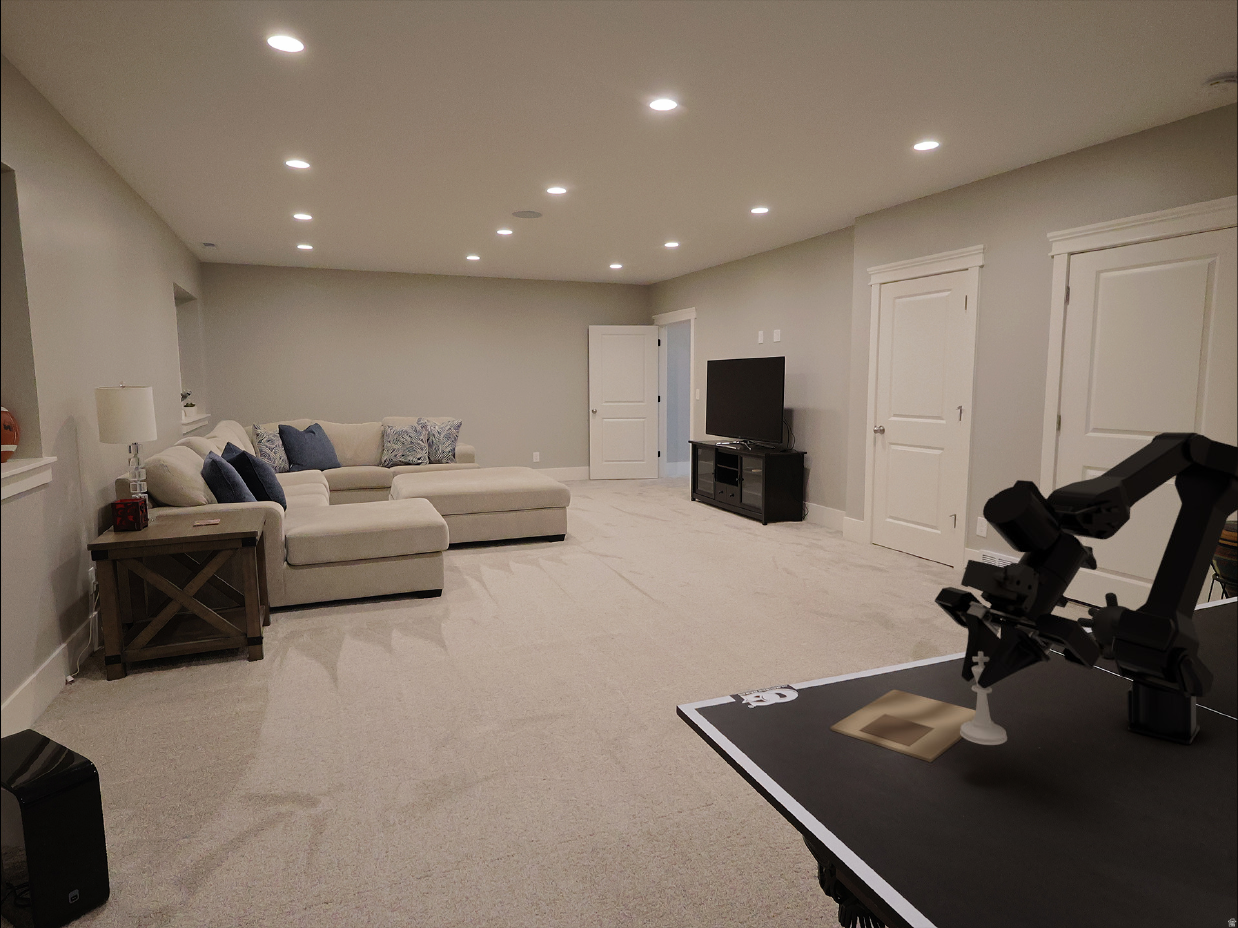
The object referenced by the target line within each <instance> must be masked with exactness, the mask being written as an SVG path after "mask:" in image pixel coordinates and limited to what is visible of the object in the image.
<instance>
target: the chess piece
mask: <svg viewBox="0 0 1238 928" xmlns="http://www.w3.org/2000/svg"><path fill="white" fill-rule="evenodd" d="M973 661H974V662H979V665H976V666H973V667H972V672H973V674H974V680H975V683H976V684H974V685H972V686H971V690H972V691H973V692H975V693H977V695H976V696H977V697H976V706H975V710H976V713H975V718H974V719H972V721H968V722H965V723H963V724H962V725H961V730H960V734H961V736H962V738H964V739H965V740H966V741H970V742H972V743H975V744H979V745H985V746H995V745H1002V744H1004V743H1006V742H1007V740H1008V736H1007V732H1006V731H1007V730H1005V728H1004V727H1002V725H1001V726H1000V725H999V724H996V723H995V721H993V720H992V719H991V713H990V709H989V703H988V694H991V693H992V692H993V688H992V687H991V686H989V687H987V688H985V689H984V688H982V687H980V686H979V685H978V683H977V682H978V679H979V677H980V675H981V673H982V671H983V669H984V667H985V666H984V662H988V661H989V657H983V652H982V651H978V657H973Z"/></svg>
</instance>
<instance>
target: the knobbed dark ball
mask: <svg viewBox="0 0 1238 928" xmlns="http://www.w3.org/2000/svg"><path fill="white" fill-rule="evenodd" d="M1104 598H1105V602H1106V603H1105V604H1106V606H1103V607H1101V608H1100V609H1098V608H1096V607H1092V606H1091V607H1089V608H1088V610H1087V615H1089V616H1090V617H1091V618H1087V617H1078V618H1077V620H1076V621H1077V622H1078V623H1079V624H1080V625H1081V626H1082V627H1083V628H1087V629H1090V631H1091V632H1092V635H1093V637H1094V640H1095V641H1096V642H1097V643H1098V645H1099V648H1101V649H1102V648H1103V650H1102V656H1103V657H1104V658H1105V659H1108V660H1112V659H1113V658H1114V655H1113V652H1112V642H1113V639H1114V637H1113V636H1112V634H1113V633H1114V632H1115V630H1116V628H1117V626H1118V624H1119V620H1120V616H1121V613H1122V612H1123V611H1124V610H1125V609H1130V608H1128V607H1126V606H1123V605H1119V602H1118V597H1117V594H1116V593H1114V592H1107V593H1105V595H1104Z"/></svg>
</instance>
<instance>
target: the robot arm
mask: <svg viewBox="0 0 1238 928" xmlns="http://www.w3.org/2000/svg"><path fill="white" fill-rule="evenodd" d="M1174 477H1175V479H1174V486H1175V490H1176V491H1177V495H1178V497H1179V499H1180V502H1181V504H1180V508H1179V511H1178V513H1177V514H1178V515H1177V516H1176V519H1175V522H1174V524H1173V528H1172V530H1171V533H1170V535H1169V538H1168V541H1167V544H1166V546H1165V549H1164V552H1163V555H1162V558H1161V560H1160V563H1159V566H1158V569H1157V571H1156V574H1155V576H1154V579H1153V582H1152V585H1151V587H1150V590H1149V593H1148V596H1147V597H1146V598H1147V599H1146V601H1145V603H1144V604H1142V605H1140V606H1139V607H1138V608H1137V609H1135V610H1134V609H1131V608H1129V609H1125V610H1124V611H1123V612H1122V613H1121V616H1120V620H1119V624H1118V626H1117V628H1116V630H1115V632H1114V633H1113V634H1112V636H1113V637H1114V639H1113V642H1112V652H1113V655H1114V657H1113V658H1114V662H1115V664H1116V668H1117V672H1118V675H1119V677H1121V678H1125V679H1130V680H1132V681H1131V687H1130V688H1129V689H1128V690H1127V691H1126V704H1127V705H1126V709H1127V710H1126V712H1127V714H1126V719H1127V721H1128V722H1130V723H1129V724H1128V729H1127V730H1129V731H1131V732H1135V733H1140V734H1144V735H1147V736H1152V737H1156V738H1159V739H1164V740H1167V741H1168V740H1169V741H1172V742H1177V743H1181V744H1186V745H1190V744H1192V742H1193V741H1194V739H1195V738H1196V736H1197V734H1198V732H1199V731H1200V726H1201V725H1200V724H1198V723H1197V698H1198V697H1199V698H1205V697H1206V696H1207V693H1210V692H1211V690H1212V687H1213V682H1214V674H1213V673H1212V672H1211V671H1210V670H1209V668H1208V667H1207V666H1206V664H1204V663H1203V661H1202V660H1201V659H1200V657H1198V652H1199V648H1200V640H1199V638H1198V633H1197V631H1196V628H1195V626H1194V622H1193V619H1192V618H1193V616H1194V612H1195V610H1196V607H1197V604H1198V601H1199V599H1200V595H1201V593H1202V590H1203V587H1204V585H1205V581H1206V579H1207V576H1208V574H1209V571H1210V567H1211V566H1212V562H1213V559H1214V556H1215V554H1216V551H1217V549H1218V548H1217V547H1218V545H1219V542H1220V539H1221V538H1222V537H1221V536H1222V535H1223V531H1224V529H1225V526H1226V523H1227V521H1228V519H1229V517H1230V516H1231V515H1232V514H1234V513H1236V512H1237V511H1238V446H1236V445H1232V444H1228V443H1224V442H1222V441H1221V442H1220V441H1217V440H1213V439H1211V438H1209V437H1208V436H1205V435H1203V434H1200V433H1197V432H1187V431H1186V432H1174V431H1173V432H1168V431H1167V432H1161V433H1159V434H1156V435H1155V436H1154V437H1153V438H1152V440H1151V442H1149V443H1148V444H1146V445H1145V446H1144V447H1142V448H1140V449H1139V450H1137V451H1136V452H1134V453H1133V454H1131V455H1130V456H1128V457H1127V458H1125V459H1123V460H1122V461H1120V462H1119V463H1118V464H1116V465H1115V466H1113V467H1112V468H1110V469H1108V470H1107V471H1106V472H1104V473H1102V474H1101V475H1099V476H1097V477H1094V478H1090V479H1089V478H1088V479H1085V480H1080V481H1079V480H1078V481H1076V482H1072V483H1070V484H1065V485H1063V486H1061V487H1059V488H1057V489H1056V488H1055V489H1054V490H1053V491H1052V492H1050V494H1049V495H1048V497H1047V498H1046V497H1045V496H1044V495H1043V494H1042V493H1041V491H1040V489H1039V487H1038V486H1037V485H1036V483H1035V482H1034V481H1033V480H1023V479H1018V480H1016V481H1015V483H1014V484H1013V486H1011V487H1007V488H1005V489H1003V490H1001V491H999V492H997V493H995V494H994V495H993V496H992V497H989V498H988V499H987V501H986V502H985V504H984V505H983V510H982V516H983V517H984V520H985V521H986V522H987V523H988V524H989V525H990V526H991V528H993V529H994V530H995V531H996V532H997V533H998V535H1000V537H1001V538H1002V539H1003V540H1004V541H1005V542H1006V543H1007V544H1008V545H1009V546H1010V548H1012V549H1013V550H1014V551H1016V552H1019V553H1023V555H1022V556H1021V558H1020V559H1019V561H1018V562H1017V563H1016V562H1011V563H1010V564H1006V565H1004V566H998V565H995V564H990V563H986V562H982V561H979V560H978V561H976V560H973V559H968V560H967V564H966V567H965V569H964V572H963V576H962V578H961V582H960V586H962V587H966V588H972V589H975V590H977V591H980V592H982V593H981V594H980V597H981V598H982V599H983V601H985V602H986V603H989V604H990V606H989V607H988V606H986V605H985V604H983V603H982V602H981V601H980V600H979V599H978V598H977V597H976V596H975V595H974V594H973V593H972V592H971V591H967V590H963V589H961V588H957V587H953V586H948V587H943V588H942V589H940V591H939V593H938V594H937V596H936V597H935V599H934V603H936V604H937V605H938V607H940V608H941V610H943V611H944V612H945V614H946V615H948V617H950V618H951V619H952V620H953V621H954V622H955V623H956V624H957V625H959V626H960V627H961V628H964V629H966V630H967V641H966V643H967V644H966V649H965V655H964V660H963V665H962V671H961V675H960V676H961V678H962V680H964V681H965V682H968V683H969V682H970V681H972V680H973V679H975V677H974V674H973V672H972V667H973V666H976V665H979V662H974V661H973V657H978V651H982V652H983V657H989V661H988V662H984V666H985V667H984V669H983V671H982V673H981V675H980V677H979V679H978V682H976V684H977V683H978V685H979V686H980V687H982V688H984V689H985V688H987V687H989V686H990V687H991V686H992V685H994V684H996V683H998V682H1000V681H1002V680H1003V679H1006V678H1008V677H1010V676H1011V675H1013V674H1015V673H1018V672H1019V671H1022V670H1023V669H1026V668H1028V667H1031V666H1034V665H1036V664H1038V663H1040V662H1046V663H1049V662H1050V660H1051V659H1052V658H1051V657H1050V656H1049V655H1048V654H1049V652H1050V651H1051V649H1052V648H1053V646H1055V647H1057V646H1058V647H1060V648H1063V651H1062V653H1063V656H1064V659H1065V661H1066V662H1068V663H1069V664H1072V665H1076V666H1078V667H1080V668H1083V669H1087V670H1092V669H1093V668H1094V667H1095V664H1096V663H1097V661H1098V660H1099V658H1100V654H1101V653H1100V651H1101V650H1100V647H1099V645H1098V643H1097V642H1096V641H1095V640H1096V639H1095V638H1093V637H1092V636H1091V635H1090V633H1088V631H1086V629H1085V627H1082V626H1081V625H1080V624H1079V623H1078V622H1077V620H1075V619H1073V618H1072V619H1071V618H1067V617H1064V616H1061V615H1057V614H1054V613H1053V611H1054V610H1055V608H1056V607H1059V608H1063V609H1065V608H1066V607H1067V605H1068V603H1069V600H1068V598H1066V596H1065V595H1064V593H1065V592H1066V591H1067V588H1069V586H1070V584H1071V583H1072V581H1074V578H1075V576H1076V575H1077V573H1078V572H1079V570H1080V568H1081V569H1085V570H1086V569H1087V570H1090V571H1091V570H1093V571H1095V570H1096V569H1098V564H1097V559H1096V557H1095V556H1094V552H1093V551H1094V548H1093V547H1092V546H1087V545H1084V544H1083V543H1082V542H1081V541H1080V539H1078V538H1077V537H1083V538H1087V539H1088V538H1089V539H1095V540H1096V539H1097V540H1102V541H1103V540H1108V539H1110V538H1112V537H1113V536H1114V535H1116V534H1117V533H1118V532H1119V531H1120V530H1121V529H1122V528H1123V526H1125V525H1126V524H1127V522H1128V521H1130V519H1131V509H1132V507H1133V506H1134V505H1135V504H1136V503H1138V502H1139V501H1141V500H1143V499H1144V498H1145V497H1146V496H1148V495H1149V494H1151V493H1153V491H1155V490H1156V489H1159V487H1161V486H1162V485H1164V484H1165V483H1166V482H1168V481H1170V480H1172V479H1173V478H1174ZM1052 613H1053V614H1052ZM999 630H1000V631H999ZM999 633H1000V634H999ZM998 634H999V635H1000V636H998Z"/></svg>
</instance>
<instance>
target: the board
mask: <svg viewBox="0 0 1238 928" xmlns="http://www.w3.org/2000/svg"><path fill="white" fill-rule="evenodd" d="M975 713H976V709H971V708H968V707H963V706H960V705H956V704H953V703H949V702H945V701H940V700H937V699H932V698H928V697H925V696H921V695H919V694H918V695H917V694H913V693H909V692H906V691H902V690H897V689H893V690H892V689H891V690H890V691H889V692H887V693H885V694H883V695H881V696H880V697H879V698H877V699H875V700H874V701H872V702H870V703H868V704H866V705H865V706H864V707H862V708H860V709H859V710H857V711H854V713H852V714H850V715H849V716H847V717H845V718H843V719H841V720H840V721H838V722H836V723H835V724H833V725H831V726H830V731H833V732H837V733H839V734H842V735H845V736H849V737H852V738H855V739H858V740H861V741H863V742H867V743H870V744H874V745H877V746H880V747H882V748H885V749H889V750H892V751H894V752H897V753H900V754H904V755H907V756H911V757H913V758H915V759H919V760H921V761H925V762H929V763H932V762H933V761H935V760H936V759H937V758H938V757H940V756H941V755H942V754H943V753H945V752H946V751H947V750H948V749H950V748H951V747H952V746H953V745H955V744H957V742H958V741H960V740H962V738H963V737H962V736H961V734H960V730H961V725H962V724H963V723H965V722H968V721H972V719H974V718H975Z"/></svg>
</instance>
